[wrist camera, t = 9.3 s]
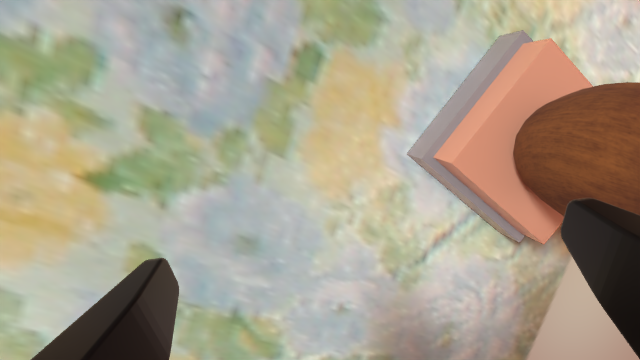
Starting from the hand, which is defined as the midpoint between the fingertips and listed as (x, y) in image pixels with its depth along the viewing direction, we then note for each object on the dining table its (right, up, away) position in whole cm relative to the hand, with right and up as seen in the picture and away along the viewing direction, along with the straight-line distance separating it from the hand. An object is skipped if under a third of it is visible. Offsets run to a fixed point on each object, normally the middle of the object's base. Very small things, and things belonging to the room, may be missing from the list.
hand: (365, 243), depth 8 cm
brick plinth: (+11, +4, +16) cm, 19 cm away
